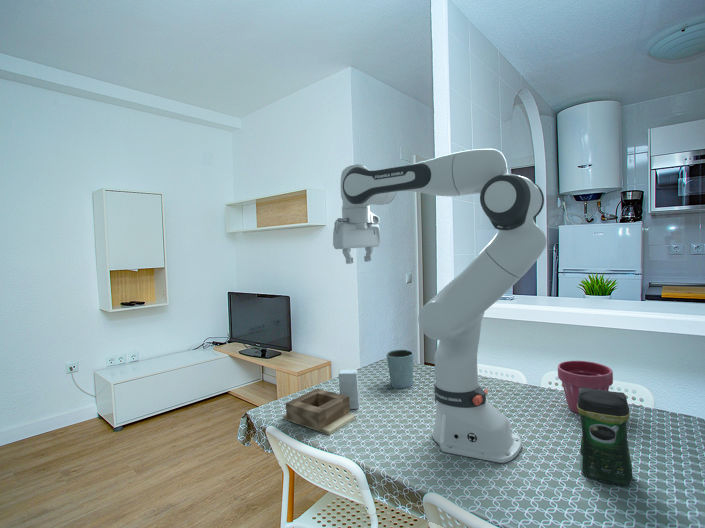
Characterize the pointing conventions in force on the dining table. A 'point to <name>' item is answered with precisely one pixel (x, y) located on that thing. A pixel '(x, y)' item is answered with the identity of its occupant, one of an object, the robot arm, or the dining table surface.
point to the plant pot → (583, 379)
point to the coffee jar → (604, 436)
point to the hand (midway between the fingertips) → (359, 262)
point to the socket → (320, 411)
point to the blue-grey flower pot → (400, 368)
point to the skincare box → (350, 386)
